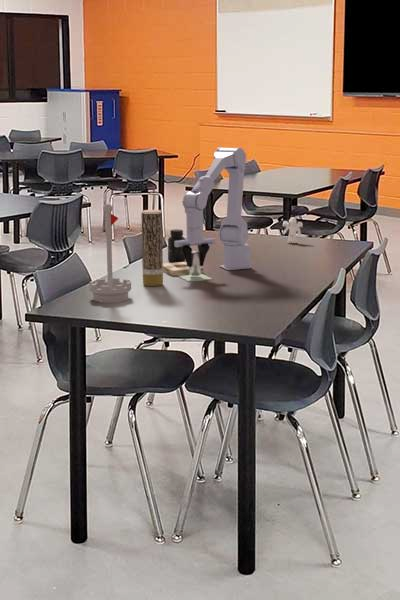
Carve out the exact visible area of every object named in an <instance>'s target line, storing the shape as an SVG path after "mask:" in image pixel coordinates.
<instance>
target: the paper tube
mask: <svg viewBox="0 0 400 600" xmlns="http://www.w3.org/2000/svg"><path fill="white" fill-rule="evenodd" d="M140 219H141V251H142V252H141V253H142V254H141V255H142V256H141V258H142V260H141V261H142V285H143V286H145V287H160V286H162V285H163V283H164V272H163V264H164V261H163V260H164V259H163V255H164V254H163V251H164V250H163V211H162V210H161V209H144V210H143V209H142V210H141V218H140Z"/></svg>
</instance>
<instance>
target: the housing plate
mask: <svg viewBox="0 0 400 600" xmlns="http://www.w3.org/2000/svg"><path fill="white" fill-rule="evenodd" d="M204 270H205V269H204V267H203V266H201V274H203V275H204ZM163 273H165V274H166V275H169V276H171V277H176V276H178V277H179V276H185V275H189V267H188V266H187V263H186V261H184V262H165V263H163Z"/></svg>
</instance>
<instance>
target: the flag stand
mask: <svg viewBox="0 0 400 600" xmlns="http://www.w3.org/2000/svg"><path fill="white" fill-rule="evenodd" d="M102 210H103V212H104V213H105V234H106V235H105V236H106V239H105V241H106V263H107V264H106V265H107V267H106V268H107V271H106V272H107V281H106V279H105V278H102V277H101V278H97V279H96V280H91V281H90V282H89V291H90V292H91V293H92V300H93V299H94V300H93V301H95V300H96V301H95V302H97V301H102V302H101V303H119V302H124V301H126V300H129V292H130V291H131V290H132V282H131V280H130V279H127V278H124V279H123V280H122V281H120V278H119V277H113V252H112V250H113V249H112V226H113V225H114V224H115V222H116V221H118V220H119V217H118V216H116V215H114V214H113V213H112V212H113V205H112V204H110V203H106V204H104V206H103V208H102Z"/></svg>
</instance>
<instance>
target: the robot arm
mask: <svg viewBox="0 0 400 600" xmlns="http://www.w3.org/2000/svg"><path fill="white" fill-rule="evenodd" d="M246 164H247V154H246V152H245V150H244V149H243V148H242V147H222V146H219V147H217V148H216V150H215V152H214V153H213V162H212V163H211V165H210V166H209V169H208V170H207V173H206V174H205V175H203V176H200V177H199V178H198V181H197V182H196V184H195V185H194V186H193V187H192V189H191V191H188V192H187V193H185V194H184V196H183V199H182V205H183V206H182V207H183V208H184V213H185V215H186V216H185V217H186V220H185V221H186V238H185V240H179V241H174V243H175V247H181V250H182V252H183V254H184V256H185V259H186V260H185V262H186V263H187V266H188V267H191V254H192V251H193V248H192V246H193V247H194V246H197V249H198V250H197V251H199V252H200V264H201V267H203V266H204V264H205V260H206V256H207V254H208V252H209V250H210V247H211V246H210V245H216V238H214V237H208V238H207V237H206V238H204V209H205V208H206V207H207V203H208V199H209V195H210V194H211V192H212V191H213V189H214V188H215V182H214V181H215V180H216V179H217V178H218V176H219V175H220V174H221V173H222V171H223V170H225V171H226V172H227V173H228V175H229V176H228V187H227V188H228V190H227V191H228V192H227V209H226V217H225V218H224V219H223V220H222V221H221V222H220V226H219V227H220V228H219V231H218V237H219V241H220V242H221V244H222V245H223V264H221V265H219V267H220V268H222V269H224V270H226V271H234V270H235V271H236V270H244V269H251V268H252V266H251V247H250V245H249V244H248V243H246V242H247V241H248V238H249V231H248V223H247V221H245V220H244V219H243V218H242V210H243V208H242V207H243V192H244V177H245V171H246Z"/></svg>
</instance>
